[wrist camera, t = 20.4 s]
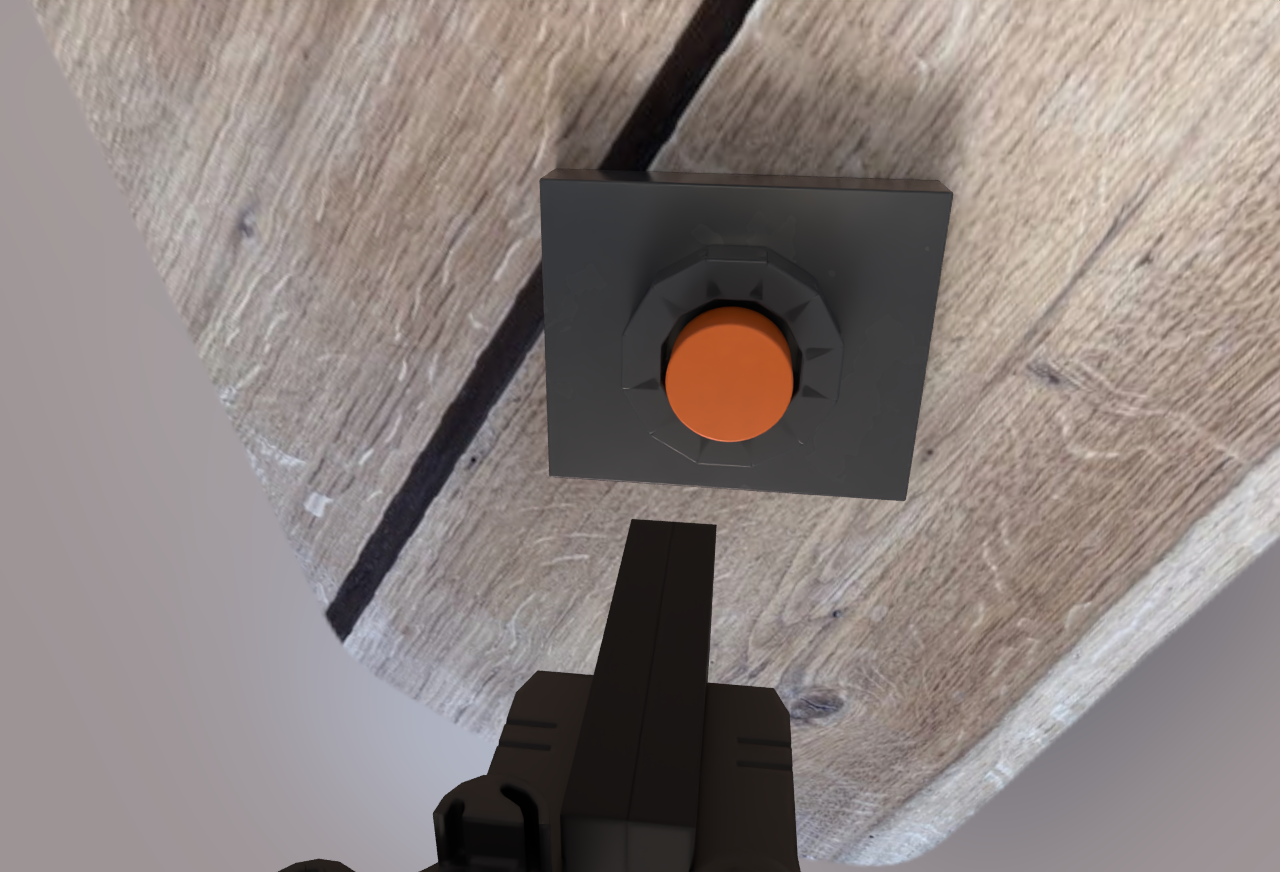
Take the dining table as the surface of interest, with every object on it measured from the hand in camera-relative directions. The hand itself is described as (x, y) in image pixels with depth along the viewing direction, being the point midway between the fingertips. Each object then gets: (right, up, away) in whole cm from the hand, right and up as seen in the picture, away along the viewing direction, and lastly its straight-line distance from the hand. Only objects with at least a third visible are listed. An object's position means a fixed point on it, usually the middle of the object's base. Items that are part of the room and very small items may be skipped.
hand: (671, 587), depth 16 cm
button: (+2, +5, +11) cm, 12 cm away
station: (+3, +6, +14) cm, 16 cm away
